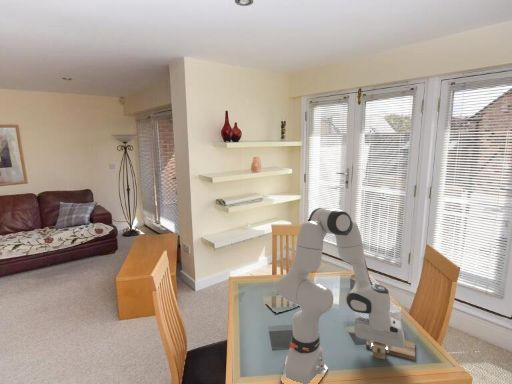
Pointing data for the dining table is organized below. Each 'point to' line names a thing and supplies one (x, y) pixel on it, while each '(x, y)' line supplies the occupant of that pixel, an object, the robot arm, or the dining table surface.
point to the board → (402, 349)
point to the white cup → (395, 312)
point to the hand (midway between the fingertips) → (379, 350)
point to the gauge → (379, 350)
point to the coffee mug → (352, 281)
